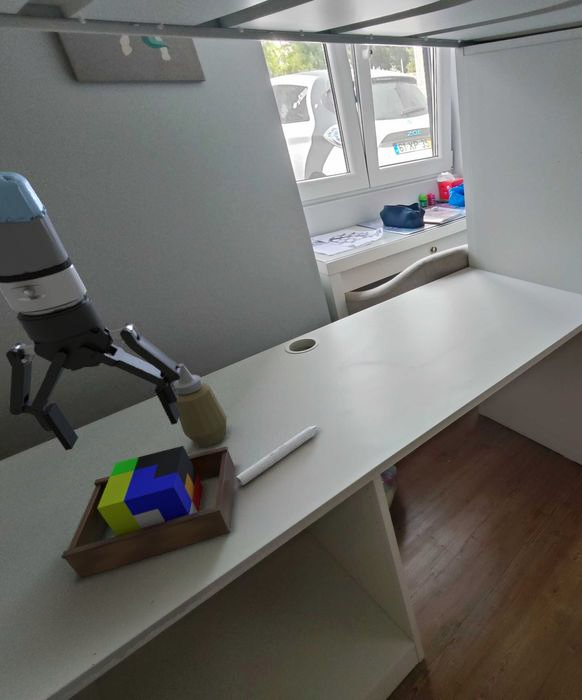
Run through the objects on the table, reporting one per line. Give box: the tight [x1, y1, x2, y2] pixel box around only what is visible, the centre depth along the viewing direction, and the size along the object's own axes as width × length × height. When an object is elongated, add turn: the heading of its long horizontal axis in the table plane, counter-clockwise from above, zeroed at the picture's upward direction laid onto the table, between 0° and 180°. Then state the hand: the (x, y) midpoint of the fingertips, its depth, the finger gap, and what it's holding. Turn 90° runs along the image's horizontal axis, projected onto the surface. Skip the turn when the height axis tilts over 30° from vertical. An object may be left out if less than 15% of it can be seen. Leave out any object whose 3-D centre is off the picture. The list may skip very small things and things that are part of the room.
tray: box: [60, 445, 236, 579], centre depth 74 cm, size 21×16×6 cm
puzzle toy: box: [97, 445, 204, 536], centre depth 73 cm, size 10×10×10 cm
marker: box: [235, 425, 320, 486], centre depth 87 cm, size 18×2×2 cm, turn 145°
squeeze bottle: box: [173, 363, 228, 447], centre depth 88 cm, size 8×8×18 cm
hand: (125, 431), depth 67 cm, fingers open, 13 cm apart
